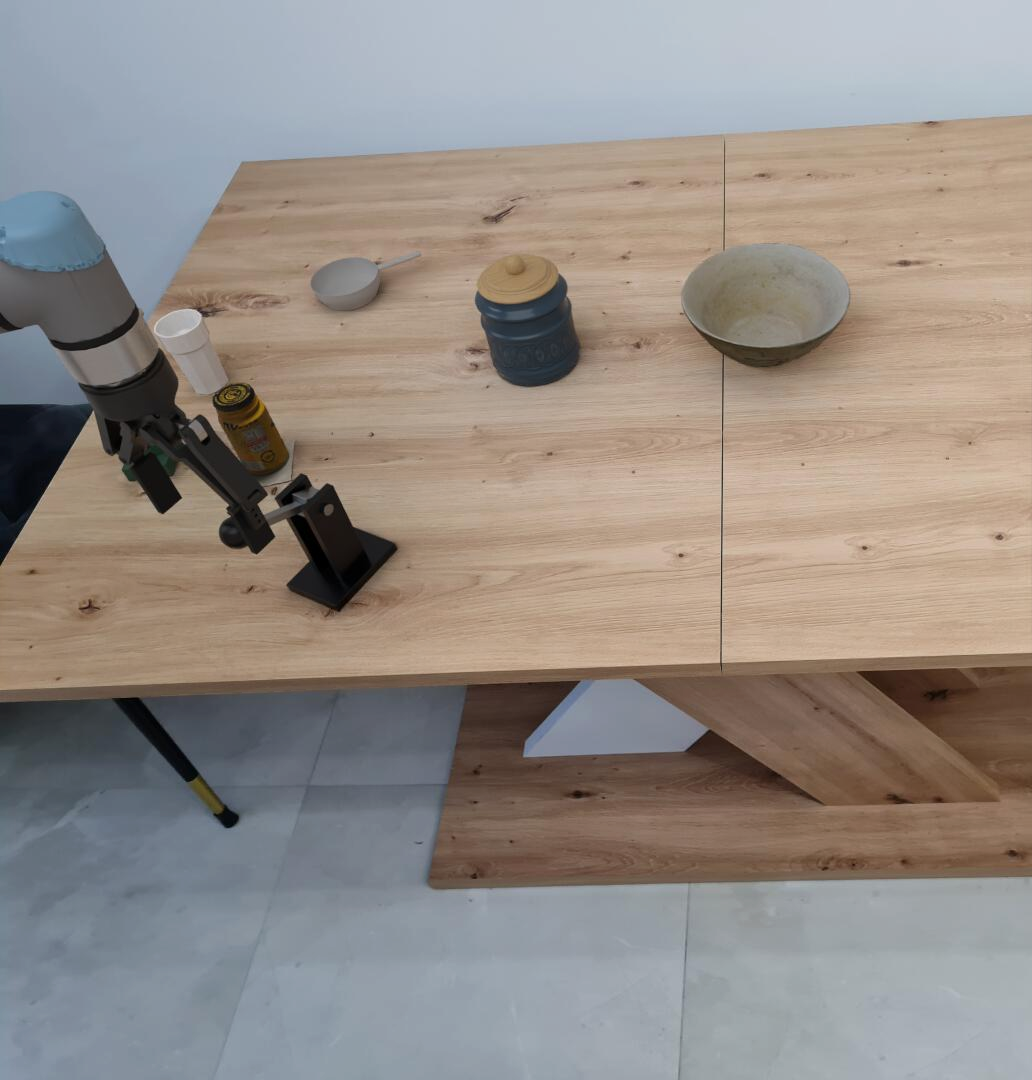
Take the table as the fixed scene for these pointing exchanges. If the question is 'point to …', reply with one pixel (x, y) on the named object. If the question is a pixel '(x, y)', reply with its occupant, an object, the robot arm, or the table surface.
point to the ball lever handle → (234, 538)
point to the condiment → (253, 434)
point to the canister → (527, 319)
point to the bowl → (765, 302)
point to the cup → (192, 349)
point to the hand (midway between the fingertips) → (216, 524)
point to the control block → (162, 457)
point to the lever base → (331, 547)
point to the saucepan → (351, 281)
